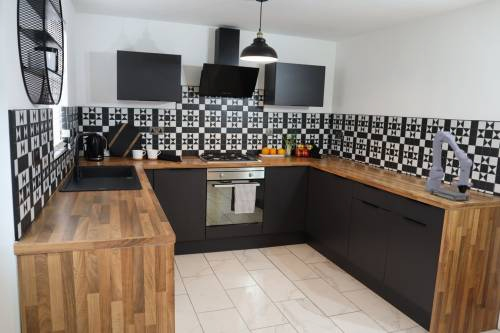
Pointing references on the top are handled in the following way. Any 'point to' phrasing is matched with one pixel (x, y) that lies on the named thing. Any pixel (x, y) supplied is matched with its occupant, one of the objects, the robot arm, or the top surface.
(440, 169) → the robot arm
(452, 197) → the tray
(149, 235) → the top surface
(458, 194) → the shelf
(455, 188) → the teacup with lid
